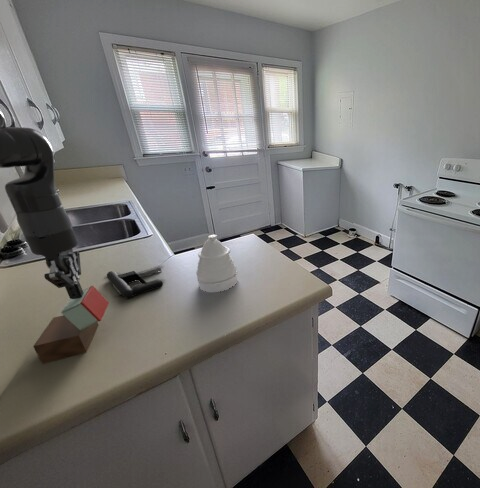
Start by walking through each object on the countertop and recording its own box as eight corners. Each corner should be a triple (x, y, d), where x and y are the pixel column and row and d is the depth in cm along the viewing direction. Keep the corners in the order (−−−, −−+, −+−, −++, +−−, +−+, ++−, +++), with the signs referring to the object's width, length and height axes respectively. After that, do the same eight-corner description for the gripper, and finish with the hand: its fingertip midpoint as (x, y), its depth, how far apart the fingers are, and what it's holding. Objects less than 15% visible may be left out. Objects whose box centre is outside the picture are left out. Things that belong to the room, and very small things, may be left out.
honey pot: (244, 283, 93) (237, 235, 86) (205, 297, 86) (195, 245, 79) (230, 270, 103) (223, 225, 96) (194, 280, 95) (184, 233, 88)
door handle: (152, 259, 105) (101, 273, 93) (174, 276, 93) (119, 294, 81) (154, 267, 106) (103, 281, 94) (176, 285, 94) (121, 303, 83)
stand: (42, 363, 61) (32, 346, 59) (61, 333, 70) (53, 317, 68) (86, 352, 64) (78, 335, 62) (98, 324, 74) (92, 309, 72)
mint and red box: (60, 312, 60) (82, 302, 62) (72, 294, 67) (92, 285, 68) (80, 330, 64) (101, 320, 65) (90, 311, 70) (109, 302, 72)
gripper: (39, 222, 62) (67, 287, 68) (7, 242, 51) (44, 317, 57) (80, 218, 65) (103, 280, 71) (58, 236, 54) (88, 308, 60)
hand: (77, 296), depth 64 cm, fingers closed
